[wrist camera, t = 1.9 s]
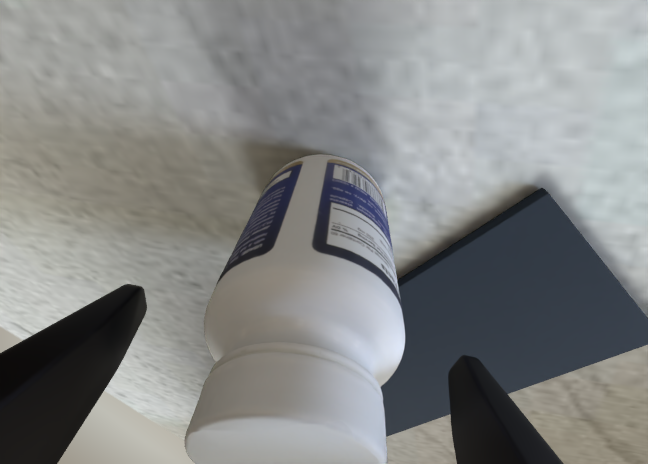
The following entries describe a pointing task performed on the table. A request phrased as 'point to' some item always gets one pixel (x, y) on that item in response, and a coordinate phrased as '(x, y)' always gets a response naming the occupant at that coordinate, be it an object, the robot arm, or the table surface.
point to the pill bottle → (303, 326)
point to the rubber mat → (508, 311)
